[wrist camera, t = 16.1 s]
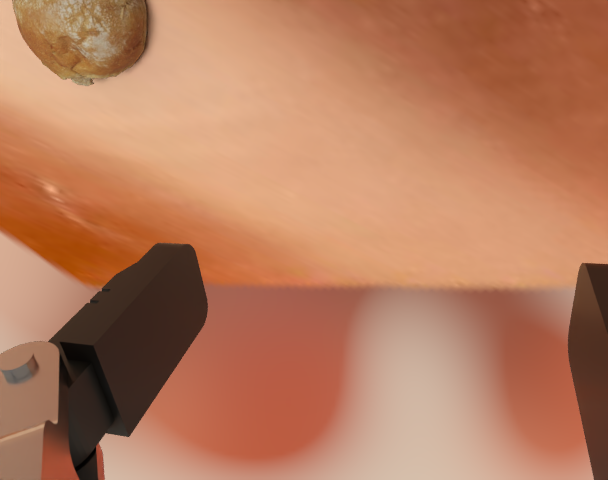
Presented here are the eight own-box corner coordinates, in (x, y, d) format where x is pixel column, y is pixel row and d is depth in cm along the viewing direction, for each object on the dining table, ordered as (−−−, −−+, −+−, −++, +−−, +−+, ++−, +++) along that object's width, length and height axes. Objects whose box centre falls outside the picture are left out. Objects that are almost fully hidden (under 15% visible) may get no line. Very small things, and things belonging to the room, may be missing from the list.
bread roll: (184, 14, 44) (159, -12, 36) (111, 112, 46) (72, 107, 38) (86, -70, 43) (38, -117, 35) (13, 33, 44) (-48, 11, 36)
